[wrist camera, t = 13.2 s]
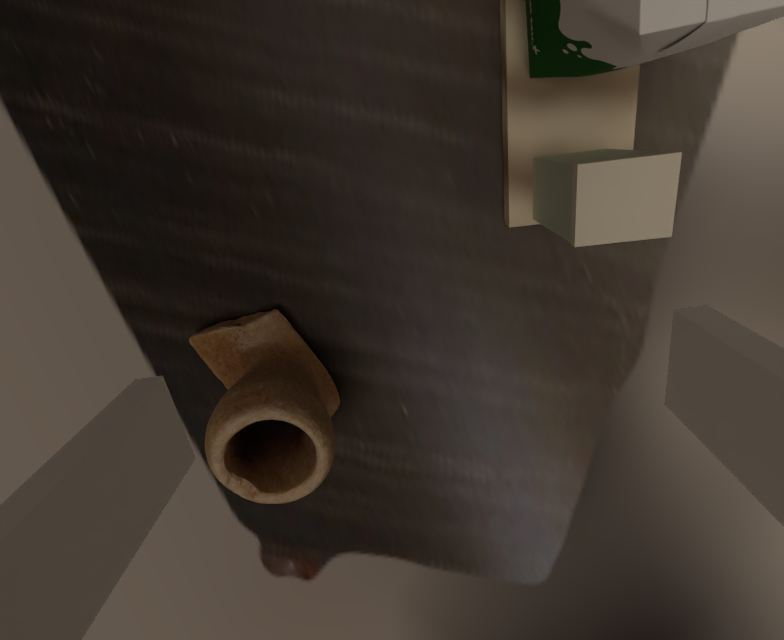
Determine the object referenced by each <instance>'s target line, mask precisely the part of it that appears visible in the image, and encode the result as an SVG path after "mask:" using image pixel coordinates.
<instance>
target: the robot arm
mask: <svg viewBox="0 0 784 640" xmlns="http://www.w3.org/2000/svg"><path fill="white" fill-rule="evenodd" d="M665 405H666V406H667V407H668V408H669V409H670V410H671V411H672V412H673V413H674V414H675V415H676V416H677V417H678V418H679V419H680V421H682V423H683V424H684V425H685V426H686V427H687V428H688V429H689V430H690V431H691V432H692V433H693V434H694V435H695V436H696V437H697V438H698V439H699V440H700V441H701V442H702V443H703V444H704V445H705V446H706V447H707V448H708V449H709V450H710V451H711V452H712V453H713V454H714V455H715V456H716V457H717V459H718V460H719V461H720V462H721V463H722V464H723V465H724V466H725V467H726V468H727V469H728V470H729V471H730V472H731V473H732V474H733V475H734V476H735V477H736V478H737V479H738V480H739V481H740V482H741V483H742V484H743V485H744V486H745V487H746V488H747V489H748V490H749V491H750V492H751V493H752V494H753V495H754V496H755V497H756V498H757V499H758V501H759V502H760V503H761V504H762V505H763V506H764V507H765V508H766V509H767V510H768V511H769V512H770V513H771V514H772V515H773V516H774V517H775V518H776V519H777V520H778V521H779V522H780V523H781V524H782V525H783V526H784V348H782V347H780V346H779V345H777V344H775V343H773V342H771V341H770V340H768V339H766V338H764V337H762V336H761V335H759V334H757V333H755V332H754V331H752V330H750V329H748V328H747V327H745V326H743V325H741V324H739V323H738V322H736V321H734V320H732V319H731V318H729V317H727V316H725V315H723V314H722V313H720V312H718V311H716V310H715V309H712V308H711V307H709V306H707V305H703V306H696V307H688V308H680V309H674V314H673V324H672V336H671V345H670V355H669V366H668V376H667V386H666V396H665ZM194 460H195V455H194V453H193V450H192V448H191V445H190V442H189V440H188V437H187V435H186V433H185V430H184V428H183V425H182V423H181V420H180V418H179V415H178V413H177V410H176V408H175V405H174V403H173V400H172V398H171V395H170V393H169V390H168V388H167V385H166V383H165V380H164V378H163V376H157V377H150V378H142V379H135V380H134V381H133V382H132V383H131V384H130V385H129V386H128V387H127V388H126V389H124V390H123V391H122V392H121V393H120V394H119V395H118V396H117V397H116V398H115V399H114V400H113V401H112V402H111V403H109V404H108V405H107V406H106V407H105V408H104V409H103V410H102V411H101V412H100V413H99V414H98V415H97V416H95V417H94V418H93V419H92V420H91V421H90V422H89V423H88V424H87V425H86V426H85V427H84V428H83V429H82V430H80V431H79V432H78V433H77V434H76V435H75V436H74V437H73V438H72V439H71V440H70V441H69V442H68V443H66V444H65V445H64V446H63V447H62V448H61V449H60V450H59V451H58V452H57V453H56V454H55V455H54V456H52V457H51V458H50V459H49V460H48V461H47V462H46V463H45V464H44V465H43V466H42V467H41V468H40V469H38V470H37V471H36V472H35V473H34V474H33V475H32V476H31V477H30V478H29V479H28V480H27V481H26V482H24V483H23V484H22V485H21V486H20V487H19V488H18V489H17V490H16V491H15V492H14V493H13V494H12V495H11V496H10V497H8V498H7V499H6V500H5V501H4V502H3V503H2V504H1V505H0V640H82V638H83V637H84V635H85V633H86V631H87V630H88V629H89V627H90V625H91V624H92V622H93V621H94V619H95V617H96V616H97V614H98V613H99V611H100V610H101V608H102V606H103V605H104V603H105V602H106V600H107V598H108V597H109V595H110V594H111V592H112V590H113V589H114V587H115V586H116V584H117V582H118V581H119V579H120V578H121V576H122V574H123V573H124V571H125V570H126V568H127V567H128V565H129V563H130V562H131V560H132V559H133V557H134V555H135V554H136V552H137V551H138V549H139V547H140V546H141V544H142V543H143V541H144V540H145V538H146V536H147V535H148V533H149V532H150V530H151V529H152V527H153V525H154V524H155V522H156V521H157V519H158V517H159V516H160V514H161V512H162V511H163V509H164V508H165V506H166V505H167V503H168V501H169V500H170V498H171V497H172V495H173V493H174V492H175V490H176V489H177V487H178V486H179V484H180V482H181V481H182V479H183V477H184V476H185V474H186V473H187V471H188V470H189V468H190V467H191V465H192V463H193V462H194Z"/></svg>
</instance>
